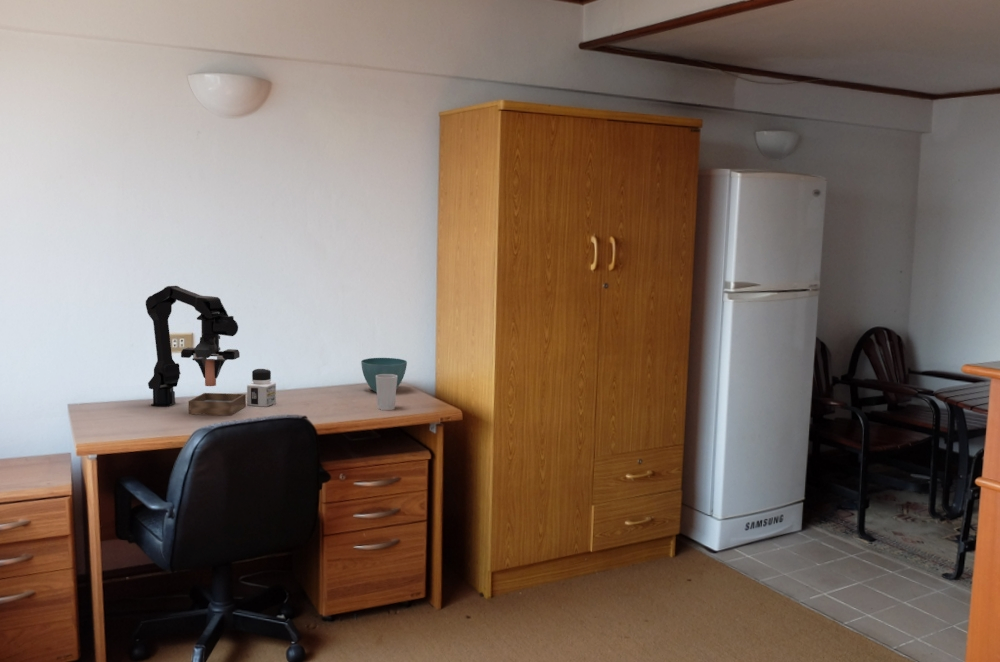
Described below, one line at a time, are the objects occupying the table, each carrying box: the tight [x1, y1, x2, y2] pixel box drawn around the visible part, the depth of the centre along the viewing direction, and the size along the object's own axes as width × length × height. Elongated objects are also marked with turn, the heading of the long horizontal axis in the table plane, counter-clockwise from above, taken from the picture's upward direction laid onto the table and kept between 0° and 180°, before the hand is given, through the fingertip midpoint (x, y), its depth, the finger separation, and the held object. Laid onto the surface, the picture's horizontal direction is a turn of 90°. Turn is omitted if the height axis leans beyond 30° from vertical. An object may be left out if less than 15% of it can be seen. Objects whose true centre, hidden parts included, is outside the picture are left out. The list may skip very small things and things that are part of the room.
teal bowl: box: [360, 357, 408, 393], centre depth 346 cm, size 18×18×12 cm
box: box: [188, 392, 247, 416], centre depth 304 cm, size 15×15×4 cm
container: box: [246, 368, 277, 408], centre depth 315 cm, size 8×8×13 cm
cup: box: [376, 374, 398, 411], centre depth 314 cm, size 8×8×12 cm
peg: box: [204, 358, 217, 387], centre depth 298 cm, size 4×4×9 cm
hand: (210, 378), depth 298 cm, fingers closed on peg, 4 cm apart
